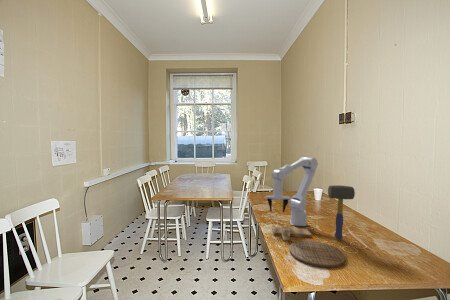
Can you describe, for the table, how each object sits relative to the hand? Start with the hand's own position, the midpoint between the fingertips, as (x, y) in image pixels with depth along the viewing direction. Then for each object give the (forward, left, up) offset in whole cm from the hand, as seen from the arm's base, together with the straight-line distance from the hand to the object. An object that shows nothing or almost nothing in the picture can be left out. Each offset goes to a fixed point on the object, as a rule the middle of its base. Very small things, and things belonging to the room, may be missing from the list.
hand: (277, 211), depth 152 cm
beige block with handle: (-3, +13, -10) cm, 17 cm away
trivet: (-14, +34, -10) cm, 38 cm away
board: (-7, +9, -10) cm, 15 cm away
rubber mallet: (-32, +14, -10) cm, 36 cm away
